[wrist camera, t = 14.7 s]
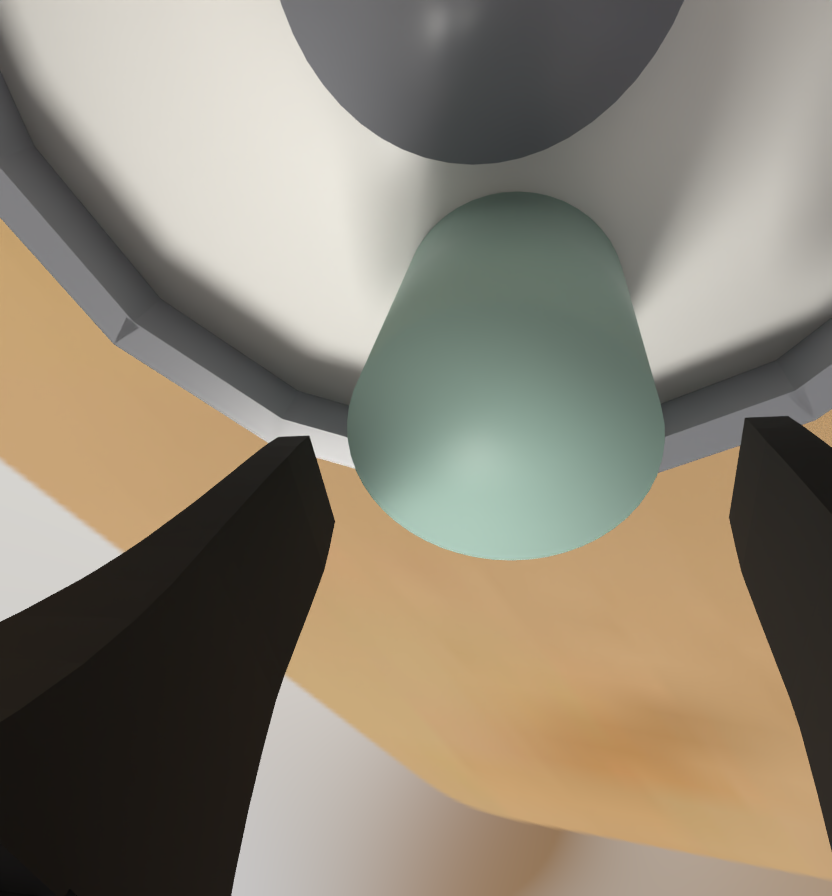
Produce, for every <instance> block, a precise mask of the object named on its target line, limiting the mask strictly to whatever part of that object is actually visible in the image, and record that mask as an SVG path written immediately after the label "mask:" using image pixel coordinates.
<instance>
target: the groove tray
mask: <svg viewBox="0 0 832 896" xmlns="http://www.w3.org/2000/svg"><path fill="white" fill-rule="evenodd" d="M502 192H531V193H538V194H542V195H547V196H551V197H554V198H556V199H559V200H562V201H564V202H566V203H568V204H570V205H572V206H574V207H576V208H577V209H579V210H580V211H582V212H583V213H584V214H586V215H587V216H588V217H590V218H591V219H592V220H593V221H594V222H595V223H596V224H597V225H598V226H599V227H600V228H601V229H602V230H603V232H604V233H605V234H606V236H607V237H608V238H609V240H610V241H611V243H612V245H613V247H614V249H615V251H616V253H617V255H618V258H619V261H620V263H621V266H622V269H623V273H624V276H625V280H626V284H627V287H628V291H629V294H630V298H631V301H632V305H633V308H634V312H635V315H636V319H637V322H638V326H639V329H640V333H641V336H642V340H643V344H644V347H645V351H646V354H647V358H648V361H649V365H650V368H651V372H652V375H653V379H654V382H655V386H656V389H657V393H658V396H659V400H660V404H661V408H662V413H663V418H664V423H665V444H664V451H663V457H662V461H661V464H660V467H659V470H658V473H659V472H662V471H665V470H668V469H671V468H674V467H677V466H680V465H683V464H686V463H689V462H692V461H695V460H698V459H701V458H704V457H707V456H710V455H713V454H716V453H719V452H722V451H725V450H728V449H731V448H734V447H737V446H740V445H741V439H742V432H743V426H744V420H745V418H748V417H772V416H789V417H791V418H792V419H793V420H795V421H796V422H798V423H799V424H801V425H802V424H805V423H808V422H811V421H814V420H816V419H818V418H819V417H821V416H822V415H824V414H825V413H827V412H828V411H830V410H831V409H832V0H0V218H1V219H2V220H3V221H4V222H5V224H6V225H7V226H8V227H9V228H10V229H11V230H12V231H13V232H14V234H15V235H16V236H17V237H18V238H19V239H20V240H21V241H22V242H23V244H24V245H25V246H26V247H27V248H28V249H29V250H30V251H31V252H32V254H33V255H34V256H35V257H36V258H37V259H38V260H39V261H40V262H41V264H42V265H43V266H44V267H45V268H46V269H47V270H48V271H49V273H50V274H51V275H52V276H53V277H54V278H55V279H56V280H57V281H58V283H59V284H60V285H61V286H62V287H63V288H64V289H65V290H66V291H67V293H68V294H69V295H70V296H71V297H72V298H73V299H74V300H75V301H76V303H77V304H78V305H79V306H80V307H81V308H82V309H83V310H84V312H85V313H86V314H87V315H88V316H89V317H90V318H91V319H92V320H93V322H94V323H95V324H96V325H97V326H98V327H99V328H100V329H101V330H102V332H103V333H104V334H105V335H106V336H107V337H108V338H109V339H110V340H111V342H112V343H113V344H114V345H116V346H117V347H119V348H121V349H122V350H124V351H125V352H127V353H128V354H130V355H132V356H133V357H135V358H136V359H138V360H139V361H141V362H142V363H144V364H146V365H147V366H149V367H150V368H152V369H153V370H155V371H157V372H158V373H160V374H161V375H163V376H164V377H166V378H168V379H169V380H171V381H172V382H174V383H175V384H177V385H178V386H180V387H182V388H183V389H185V390H186V391H188V392H189V393H191V394H193V395H194V396H196V397H197V398H199V399H200V400H202V401H204V402H205V403H207V404H208V405H210V406H211V407H213V408H215V409H216V410H218V411H219V412H221V413H222V414H224V415H225V416H227V417H229V418H230V419H232V420H233V421H235V422H236V423H238V424H240V425H241V426H243V427H244V428H246V429H247V430H249V431H251V432H252V433H254V434H255V435H257V436H258V437H260V438H261V439H263V440H265V441H266V442H268V443H270V442H271V441H273V440H274V439H276V438H277V437H285V436H310V439H311V442H312V446H313V449H314V452H315V456H316V458H319V459H323V460H327V461H330V462H334V463H337V464H341V465H344V466H348V467H351V468H355V466H354V463H353V460H352V457H351V454H350V449H349V444H348V437H347V418H348V410H349V404H350V401H351V397H352V394H353V390H354V388H355V386H356V383H357V381H358V379H359V377H360V375H361V372H362V370H363V368H364V366H365V363H366V361H367V359H368V357H369V354H370V352H371V350H372V348H373V346H374V343H375V341H376V339H377V337H378V334H379V332H380V330H381V328H382V325H383V323H384V321H385V319H386V317H387V314H388V312H389V310H390V308H391V305H392V303H393V301H394V299H395V296H396V294H397V292H398V290H399V288H400V285H401V283H402V281H403V279H404V276H405V274H406V272H407V270H408V267H409V265H410V263H411V261H412V259H413V257H414V254H415V252H416V250H417V248H418V247H419V245H420V244H421V242H422V240H423V239H424V237H425V236H426V235H427V234H428V233H429V231H430V230H431V229H432V228H433V227H434V226H435V225H436V224H437V223H438V222H439V221H440V220H441V219H443V218H444V217H445V216H446V215H448V214H449V213H451V212H452V211H454V210H455V209H456V208H458V207H460V206H462V205H464V204H466V203H468V202H470V201H472V200H475V199H478V198H481V197H484V196H487V195H492V194H497V193H502Z"/></svg>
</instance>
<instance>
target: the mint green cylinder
mask: <svg viewBox="0 0 832 896" xmlns="http://www.w3.org/2000/svg"><path fill="white" fill-rule="evenodd" d="M347 437H348V444H349V449H350V454H351V457H352V460H353V463H354V466H355V469H356V471H357V473H358V475H359V477H360V479H361V481H362V483H363V485H364V486H365V488H366V489H367V491H368V492H369V494H370V495H371V497H372V498H373V499H374V500H375V501H376V503H377V504H378V505H379V506H380V507H381V508H382V509H383V510H384V511H385V512H386V513H387V514H388V515H389V516H390V517H391V518H392V519H394V520H395V521H396V522H397V523H398V524H400V525H401V526H403V527H404V528H405V529H407V530H408V531H410V532H411V533H413V534H415V535H417V536H418V537H420V538H422V539H424V540H425V541H428V542H430V543H432V544H434V545H437V546H439V547H441V548H444V549H447V550H450V551H453V552H456V553H460V554H464V555H469V556H473V557H478V558H486V559H493V560H527V559H536V558H542V557H549V556H553V555H557V554H561V553H565V552H568V551H570V550H573V549H576V548H579V547H581V546H584V545H586V544H588V543H590V542H592V541H594V540H596V539H598V538H600V537H601V536H603V535H604V534H606V533H608V532H609V531H611V530H612V529H614V528H615V527H616V526H617V525H619V524H620V523H621V522H622V521H624V520H625V519H626V518H627V517H628V516H629V515H630V514H631V513H632V512H633V511H634V510H635V509H636V508H637V507H638V505H639V504H640V503H641V501H642V500H643V499H644V497H645V496H646V494H647V493H648V492H649V490H650V488H651V486H652V484H653V482H654V480H655V478H656V476H657V473H658V470H659V467H660V464H661V461H662V457H663V451H664V444H665V423H664V418H663V413H662V408H661V404H660V400H659V396H658V393H657V389H656V386H655V382H654V379H653V375H652V372H651V368H650V365H649V361H648V358H647V354H646V351H645V347H644V344H643V340H642V336H641V333H640V329H639V326H638V322H637V319H636V315H635V312H634V308H633V305H632V301H631V298H630V294H629V291H628V287H627V284H626V280H625V276H624V273H623V269H622V266H621V263H620V261H619V258H618V255H617V253H616V251H615V249H614V247H613V245H612V243H611V241H610V240H609V238H608V237H607V236H606V234H605V233H604V232H603V230H602V229H601V228H600V227H599V226H598V225H597V224H596V223H595V222H594V221H593V220H592V219H591V218H590V217H588V216H587V215H586V214H584V213H583V212H582V211H580V210H579V209H577V208H576V207H574V206H572V205H570V204H568V203H566V202H564V201H562V200H559V199H556V198H554V197H551V196H547V195H542V194H538V193H531V192H502V193H497V194H492V195H487V196H484V197H481V198H478V199H475V200H472V201H470V202H468V203H466V204H464V205H462V206H460V207H458V208H456V209H455V210H454V211H452V212H451V213H449V214H448V215H446V216H445V217H444V218H443V219H441V220H440V221H439V222H438V223H437V224H436V225H435V226H434V227H433V228H432V229H431V230H430V231H429V233H428V234H427V235H426V236H425V237H424V239H423V240H422V242H421V244H420V245H419V247H418V248H417V250H416V252H415V254H414V257H413V259H412V261H411V263H410V265H409V267H408V270H407V272H406V274H405V276H404V279H403V281H402V283H401V285H400V288H399V290H398V292H397V294H396V296H395V299H394V301H393V303H392V305H391V308H390V310H389V312H388V314H387V317H386V319H385V321H384V323H383V325H382V328H381V330H380V332H379V334H378V337H377V339H376V341H375V343H374V346H373V348H372V350H371V352H370V354H369V357H368V359H367V361H366V363H365V366H364V368H363V370H362V372H361V375H360V377H359V379H358V381H357V383H356V386H355V388H354V390H353V394H352V397H351V401H350V404H349V410H348V418H347Z"/></svg>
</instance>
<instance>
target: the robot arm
mask: <svg viewBox="0 0 832 896" xmlns="http://www.w3.org/2000/svg"><path fill="white" fill-rule="evenodd" d="M729 519H730V524H731V528H732V533H733V538H734V542H735V547H736V551H737V555H738V559H739V563H740V567H741V572H742V575H743V577H744V580H745V583H746V585H747V588H748V591H749V593H750V596H751V599H752V601H753V604H754V607H755V609H756V612H757V614H758V617H759V620H760V622H761V625H762V627H763V630H764V633H765V635H766V638H767V640H768V643H769V645H770V648H771V651H772V653H773V656H774V658H775V661H776V664H777V666H778V669H779V671H780V674H781V676H782V679H783V682H784V684H785V687H786V689H787V692H788V695H789V697H790V700H791V703H792V706H793V709H794V712H795V715H796V718H797V721H798V724H799V727H800V730H801V734H802V737H803V741H804V745H805V749H806V752H807V756H808V760H809V764H810V767H811V771H812V775H813V779H814V782H815V786H816V790H817V794H818V798H819V802H820V806H821V810H822V814H823V818H824V822H825V826H826V830H827V834H828V838H829V842H830V846H831V850H832V447H830V446H829V445H828V444H826V443H825V442H824V441H822V440H821V439H820V438H818V437H817V436H816V435H814V434H813V433H812V432H810V431H809V430H808V429H806V428H805V427H803V426H802V425H801V424H799V423H798V422H796V421H795V420H793V419H792V418H791V417H789V416H772V417H748V418H745V420H744V426H743V432H742V439H741V445H740V451H739V458H738V464H737V470H736V477H735V483H734V489H733V496H732V502H731V508H730V515H729ZM334 524H335V520H334V517H333V513H332V510H331V506H330V503H329V500H328V496H327V493H326V490H325V486H324V483H323V479H322V476H321V473H320V469H319V466H318V463H317V459H316V456H315V452H314V449H313V446H312V442H311V439H310V436H285V437H277V438H276V439H274V440H273V441H271V442H270V443H268V444H267V445H265V446H264V447H263V448H262V449H260V450H259V451H258V452H256V453H255V454H254V455H253V456H251V457H250V458H249V459H248V460H246V461H245V462H244V463H243V464H241V465H240V466H239V467H238V468H236V469H235V470H234V471H233V472H231V473H230V474H229V475H228V476H226V477H225V478H224V479H223V480H221V481H220V482H219V483H218V484H216V485H215V486H214V487H213V488H211V489H210V490H209V491H208V492H206V493H205V494H204V495H203V496H201V497H200V498H199V499H198V500H196V501H195V502H194V503H193V504H191V505H190V506H189V507H187V508H186V509H185V510H183V511H182V512H180V513H179V514H178V515H176V516H175V517H174V518H172V519H171V520H170V521H168V522H167V523H166V524H164V525H163V526H162V527H160V528H159V529H157V530H156V531H155V532H153V533H152V534H151V535H149V536H148V537H147V538H145V539H144V540H142V541H141V542H139V543H138V544H136V545H135V546H133V547H132V548H130V549H129V550H127V551H126V552H124V553H123V554H121V555H120V556H118V557H117V558H115V559H113V560H112V561H110V562H108V563H107V564H106V565H104V566H102V567H100V568H99V569H98V570H96V571H94V572H92V573H91V574H89V575H87V576H86V577H84V578H82V579H81V580H79V581H77V582H75V583H73V584H71V585H70V586H68V587H66V588H64V589H62V590H60V591H59V592H57V593H55V594H53V595H51V596H49V597H47V598H46V599H44V600H42V601H40V602H38V603H36V604H34V605H33V606H31V607H29V608H27V609H25V610H23V611H21V612H19V613H17V614H15V615H13V616H11V617H9V618H7V619H5V620H3V621H1V622H0V896H231V893H232V888H233V882H234V877H235V872H236V867H237V862H238V857H239V853H240V847H241V843H242V838H243V833H244V828H245V824H246V819H247V814H248V810H249V805H250V801H251V797H252V793H253V788H254V784H255V780H256V776H257V772H258V767H259V763H260V759H261V755H262V751H263V747H264V743H265V739H266V735H267V732H268V728H269V724H270V721H271V717H272V713H273V709H274V705H275V702H276V699H277V696H278V693H279V690H280V687H281V684H282V681H283V678H284V675H285V672H286V670H287V667H288V664H289V662H290V659H291V657H292V654H293V651H294V649H295V646H296V644H297V641H298V638H299V636H300V633H301V630H302V628H303V625H304V623H305V620H306V617H307V615H308V612H309V610H310V607H311V604H312V602H313V599H314V596H315V594H316V591H317V588H318V586H319V583H320V580H321V577H322V574H323V572H324V569H325V564H326V560H327V556H328V552H329V548H330V543H331V538H332V533H333V528H334Z"/></svg>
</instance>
